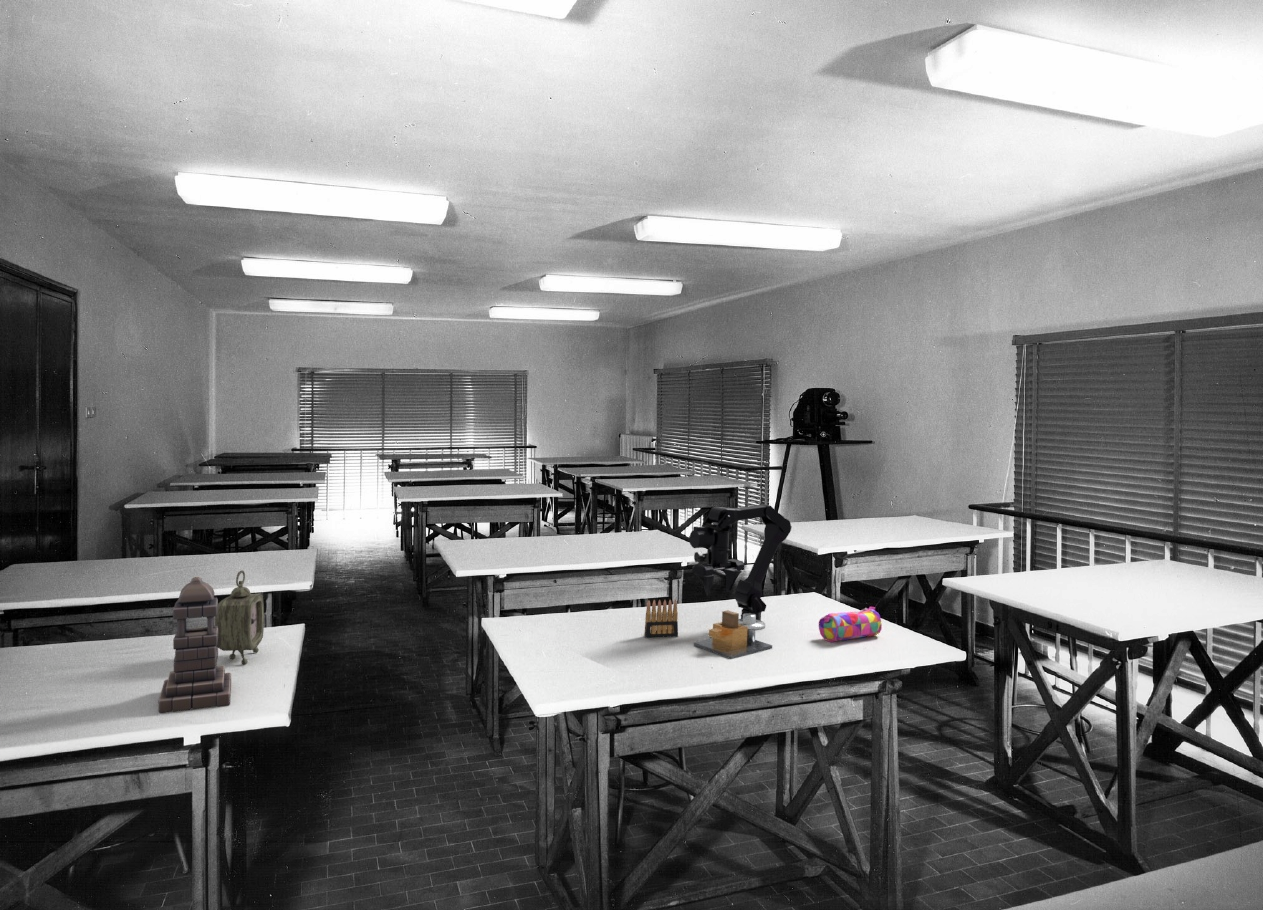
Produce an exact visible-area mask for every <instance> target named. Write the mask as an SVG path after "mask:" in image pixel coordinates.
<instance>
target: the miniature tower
mask: <svg viewBox="0 0 1263 910" xmlns="http://www.w3.org/2000/svg"><path fill="white" fill-rule="evenodd" d="M214 590H215V589H214V588H213V587H212V585H210V584H209V583H206V582H204V581H203V579H202V578H201V577H200V576H193V577H191V580H190V582H189V583H186V584H185V586H183V588H182V589H181V590H180V593H179V597H178V599H177V601H176V602H175V603H174V607H173V608H172V619H173V620H174V621H175V620H176V631H175V635H174V638H173V640H172V641H173V644H172V646H173V648H172V649H173V650H174V658H173V670H172V671H170V672H169V674H168V678H167V679H165V680H164V681H163V684H162V688H161V691H160V695H159V698H158V713H160V714H164V713H165V714H166V713H177V712H185V711H186V712H187V711H191V710H200V709H208V708H215V707H217V708H219V707H228V706H230V705H231V694H232V692H231V691H232V673H231V672H226V666H225V665H217V664H218V659H219V648H217V642H218V627H217V626H215V616H217V611H218V603H219V602H218V601H219V600H218V597H215V591H214ZM202 617H203V618H206V620H207V621H206V622H207V623H206V624H207V626H202V627H201V626H200V627H191V628H189V627H188V628H187V619H199V618H202Z"/></svg>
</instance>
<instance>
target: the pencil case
mask: <svg viewBox="0 0 1263 910" xmlns="http://www.w3.org/2000/svg"><path fill="white" fill-rule="evenodd" d="M818 630H819V633H820V635H821V637H822V638H823V639H824V640H825V641H826V642H829V641H830V642H829V643H833V642H836V641H838V642H839V641H847V640H854V639H860V638H864V637H866V636H867V637H872V636H873V635H875V636H878V635H879V634H880V633H881V631H882V618H881V615H880V614H879V612H877V611H876V607H874V606H869V608H867V607H865V608H863V609H861V610H859V611H848V612H837V613H835V612H832V613H828V614H826V615H824V616H823V617H821V618H820V619H819V621H818ZM877 634H878V635H877ZM873 637H874V636H873Z"/></svg>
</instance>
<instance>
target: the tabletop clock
mask: <svg viewBox="0 0 1263 910" xmlns="http://www.w3.org/2000/svg"><path fill="white" fill-rule="evenodd" d="M241 574H242V575H243V576H242V580H239V577H240V576H241ZM235 580H236V581H235V583H236V586H237V587H235V588H234V589H233V588H232V591H231V593H230V595H228V596H227V597H225V598H223V599H221V600H220V601H219V602H218V611H217V616H214V626H217V627H218V642H217V648H218V650H221V651H223V652H229V651H232V653H231V654H230V655H229V656H228V657H229V660H234V659H236V654H235V653H236V651H238V652H239V654H240V656H241V658H242V659H241V664H242V665H243V666H245V665H247V664H248V659H247V658H246V657H245V652H244V651H252V652H253V653H255V654H257V653H258V652H259V647H258V646H259V645H260V643H261V642H262V641H263V638H264V628H265V625H264V623H265V621H264V620H265V607H264V606H265V604H264V595H263V594H262V593H251V592H250V589H249V588H248V587H246V586H243V585H244V583H245V581H246V573H245V571H244V570H240V571H238V573H237V575H236V579H235Z"/></svg>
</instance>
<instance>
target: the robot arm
mask: <svg viewBox="0 0 1263 910" xmlns="http://www.w3.org/2000/svg"><path fill="white" fill-rule="evenodd" d="M758 518H760V520H761V522H762V523H763V524H764V528H763V529H764V530H763V533H764V540H763V542H762V544H761V547H760V550H758V553H757V555H756V559H755V560H754V562H753V565H752V567H751V570H750V572H749V573H748V576H747V577H746V578H745V579H743V580H742V579H739V580H738V583H737V586H736V588H734V591H735V592H734V599H735V602H736V603H737V607H738V608H741V614H740V619H743V614H745V613H751V614H755V615H756V620H760V621H762V613H763V612H766V609H767V604H766V603H765V602H764V600H762V595H763V588H762V587H763V586H762V583H763V581H764V579H765V576H766V574H767V572H768V569H769V567H770V565H771V562H772V560H773V558H774V556H775V554H776V551H777V549H778V547H779V545H780V544H782V543H783V542H784V541H786V539H787V538H788V536H789V534H791V533H790V532H791V531H792V525H791V524H792V523H791V521H790V520H789V519H788V518H785V517H784V516H783V515H782V514H780V513H779V512H778V511H777V510H775V508H774V507H773V506H772V505H770V504H766V503H765V504H764V503H759V504H758V505H757V504H755V505H750V506H749V505H748V506H742V507H741V506H740V507H724V506H713V507H712V508H710V511H709V513H708V515H707V516H706V518H705V519H704V521H703V523H702V525H701V526H693V530H692V531H691V532H690V534H689V537H688V542H689V544H690V547H692V549H700V548H701V549H702V548H707V551H706V553H702V551H696V552H694V554H693V555H694V556H693V559H694V562H695V563H698V564H694V565H693V566H692V574H694V575H695V576H696V577H698V578H700V581H701V582H702V583H701V584H702V585H703V588H704V593H705V594H706V596H710V595H711V591H712V587H713V582H714V577H715V576H714V575H713V574H714V572H715V571H722V570H723V571H724V574H725V588H726V592H727V593H730V592H731V590H732V588H733V586H734V584H735V582H736V580H737V579H738V577H739V576H740V574H742V573H743V571H745V568H746V567H745V562H744V561H743V560H738V559H735V558H730V559H729V554H731V553H732V549H729V540H730V538H729V537H730V533H734V532H735V531H736V530H735V529H734V528H733V527H732V525H735V523H737V522H739V521H745V520H751V519H752V520H753V519H758Z"/></svg>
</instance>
